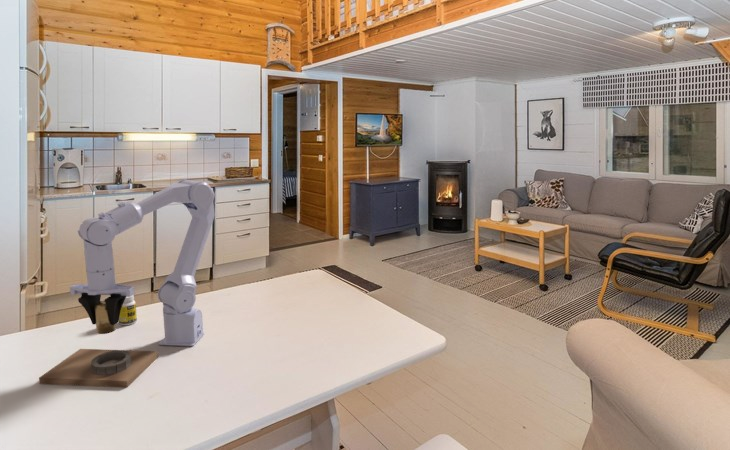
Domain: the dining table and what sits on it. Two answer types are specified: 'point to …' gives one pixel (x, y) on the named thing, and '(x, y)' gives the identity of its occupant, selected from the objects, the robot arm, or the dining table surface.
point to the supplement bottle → (128, 312)
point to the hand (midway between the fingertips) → (105, 323)
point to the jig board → (100, 368)
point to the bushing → (103, 318)
